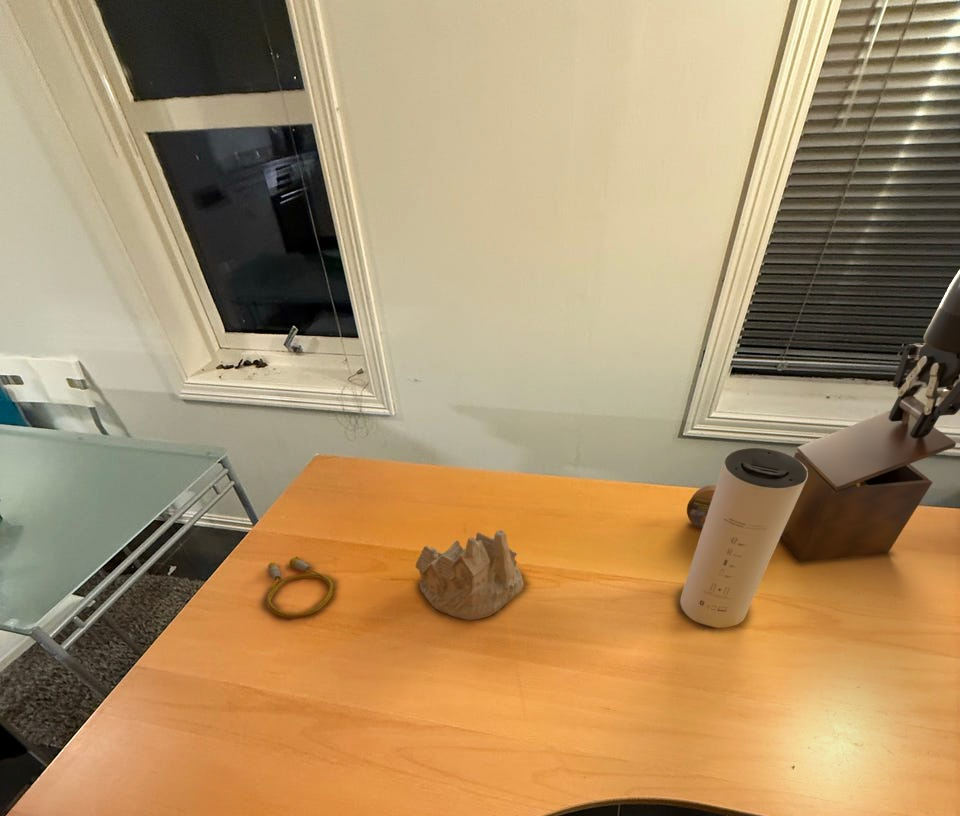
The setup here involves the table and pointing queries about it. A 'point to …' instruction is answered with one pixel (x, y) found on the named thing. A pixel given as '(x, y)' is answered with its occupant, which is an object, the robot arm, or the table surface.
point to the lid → (873, 447)
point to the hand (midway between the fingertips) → (906, 427)
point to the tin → (700, 505)
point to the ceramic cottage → (470, 576)
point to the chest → (852, 514)
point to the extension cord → (299, 565)
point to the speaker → (741, 534)
